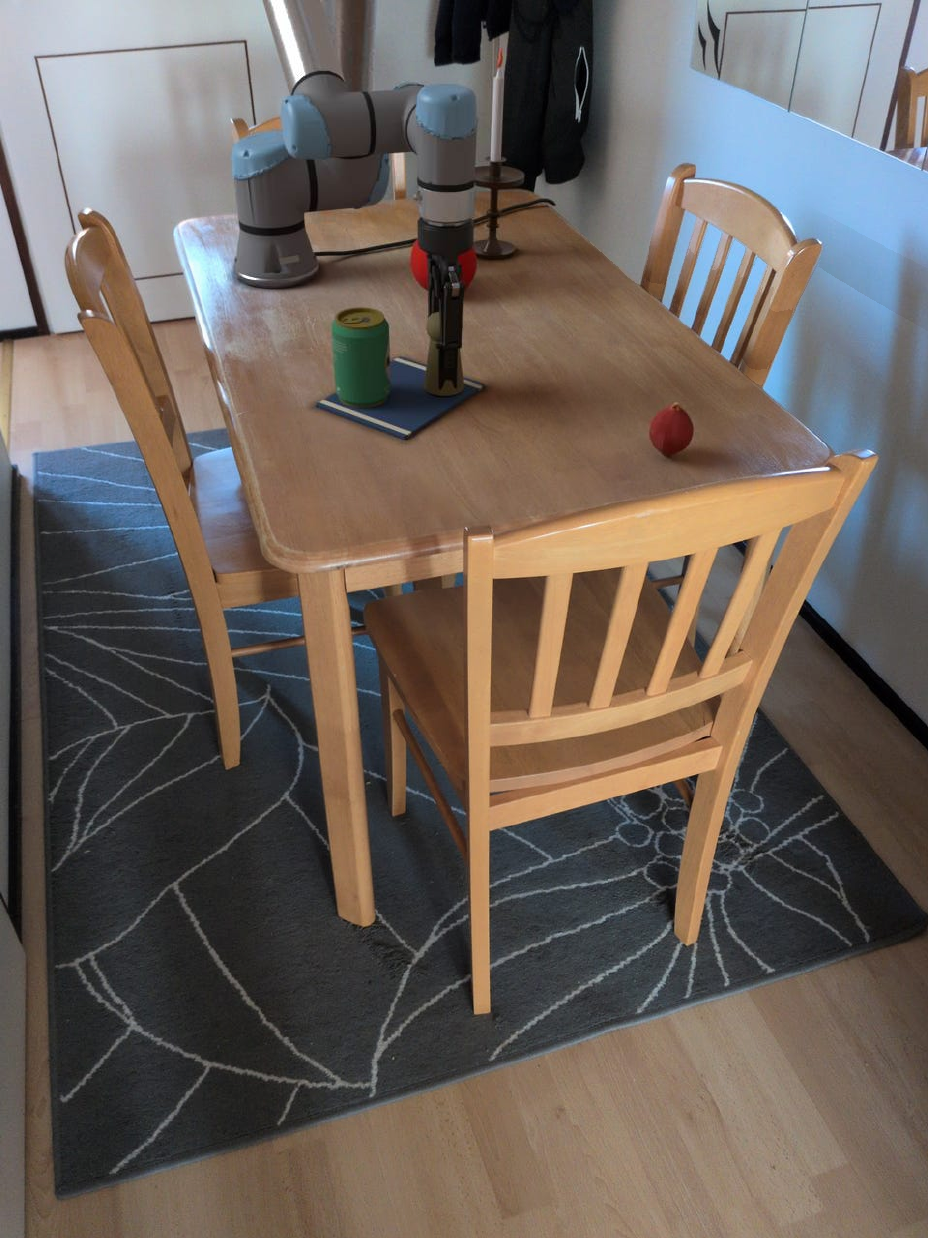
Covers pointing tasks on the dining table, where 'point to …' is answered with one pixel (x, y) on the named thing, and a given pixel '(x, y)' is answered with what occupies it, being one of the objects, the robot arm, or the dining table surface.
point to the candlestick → (496, 179)
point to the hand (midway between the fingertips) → (444, 380)
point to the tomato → (421, 269)
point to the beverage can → (361, 357)
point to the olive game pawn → (432, 363)
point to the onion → (671, 430)
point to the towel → (403, 402)
